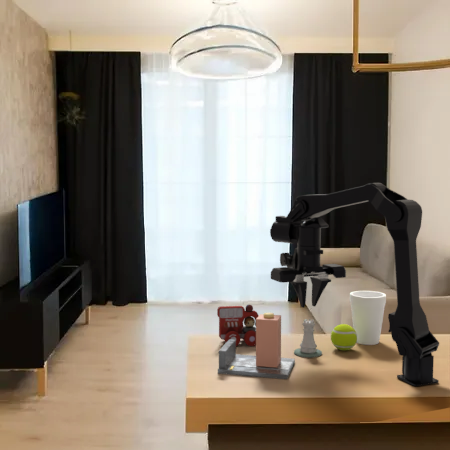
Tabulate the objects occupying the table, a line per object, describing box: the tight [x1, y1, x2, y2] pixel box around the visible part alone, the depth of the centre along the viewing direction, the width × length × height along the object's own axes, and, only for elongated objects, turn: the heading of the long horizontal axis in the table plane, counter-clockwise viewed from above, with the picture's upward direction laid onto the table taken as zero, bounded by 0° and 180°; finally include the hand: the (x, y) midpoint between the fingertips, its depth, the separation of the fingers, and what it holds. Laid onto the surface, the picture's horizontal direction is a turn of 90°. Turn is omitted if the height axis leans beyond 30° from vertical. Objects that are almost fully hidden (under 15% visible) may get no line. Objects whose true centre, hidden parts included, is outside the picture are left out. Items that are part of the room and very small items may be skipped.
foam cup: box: [349, 290, 387, 346], centre depth 166 cm, size 10×9×13 cm
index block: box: [255, 312, 282, 368], centre depth 143 cm, size 5×5×12 cm
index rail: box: [217, 339, 296, 380], centre depth 144 cm, size 16×12×5 cm
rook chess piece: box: [299, 318, 318, 354], centre depth 155 cm, size 4×4×8 cm
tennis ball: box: [330, 323, 357, 351], centre depth 159 cm, size 7×7×7 cm
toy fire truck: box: [216, 304, 260, 347], centre depth 165 cm, size 7×12×10 cm, turn 100°
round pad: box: [293, 347, 323, 359], centre depth 156 cm, size 7×7×1 cm
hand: (308, 306), depth 155 cm, fingers open, 3 cm apart
